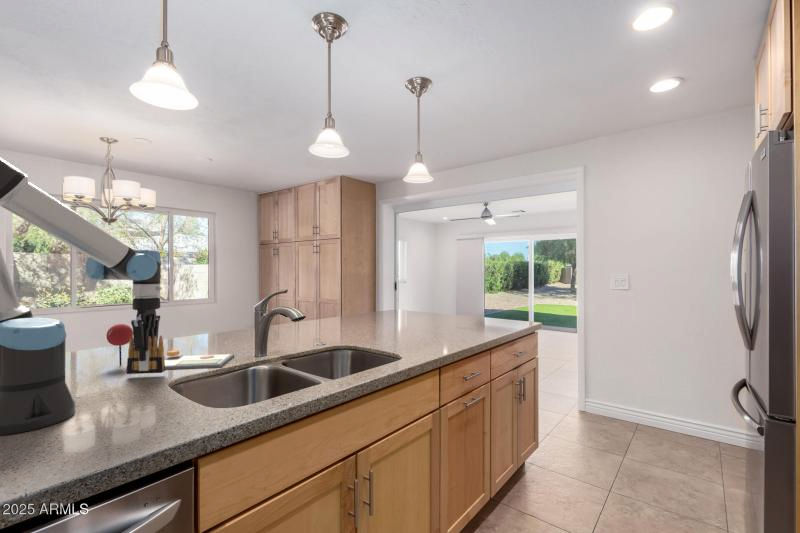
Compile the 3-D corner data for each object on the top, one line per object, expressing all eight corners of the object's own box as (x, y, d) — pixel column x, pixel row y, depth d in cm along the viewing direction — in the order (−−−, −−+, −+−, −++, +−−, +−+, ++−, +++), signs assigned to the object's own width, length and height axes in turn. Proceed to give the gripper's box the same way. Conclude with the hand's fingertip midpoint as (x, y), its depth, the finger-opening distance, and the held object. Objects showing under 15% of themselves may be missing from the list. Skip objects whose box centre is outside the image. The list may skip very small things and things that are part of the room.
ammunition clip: (165, 371, 123) (165, 334, 123) (162, 372, 121) (162, 335, 121) (129, 372, 121) (130, 335, 121) (126, 374, 119) (126, 336, 120)
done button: (176, 355, 140) (176, 352, 140) (165, 356, 139) (165, 352, 139) (181, 353, 144) (181, 350, 144) (170, 353, 143) (170, 350, 143)
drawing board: (220, 367, 132) (220, 363, 132) (144, 370, 129) (144, 366, 129) (234, 356, 148) (234, 353, 148) (166, 358, 144) (166, 355, 144)
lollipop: (110, 364, 137) (109, 323, 137) (135, 361, 140) (135, 322, 140) (103, 369, 130) (103, 326, 130) (130, 366, 133) (130, 325, 133)
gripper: (146, 298, 114) (146, 375, 114) (169, 295, 129) (169, 363, 129) (120, 298, 113) (119, 376, 113) (146, 295, 128) (145, 364, 128)
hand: (146, 369), depth 121 cm, fingers closed on ammunition clip, 2 cm apart
